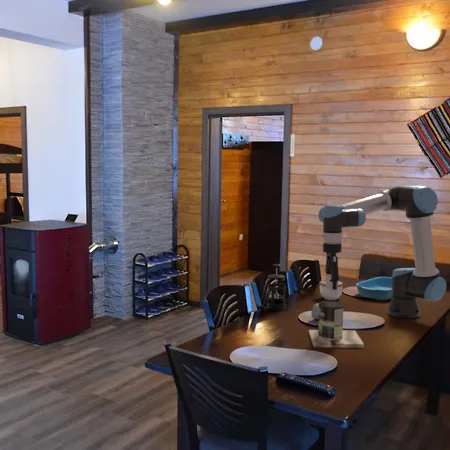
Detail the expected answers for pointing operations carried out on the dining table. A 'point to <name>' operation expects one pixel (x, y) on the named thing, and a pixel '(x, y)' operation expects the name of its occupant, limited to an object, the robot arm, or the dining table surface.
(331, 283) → the robot arm
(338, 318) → the coffee can
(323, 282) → the lidded bowl
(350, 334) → the plywood board
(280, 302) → the french press
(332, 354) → the dining table surface
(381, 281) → the casserole dish
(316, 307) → the ceramic mug
